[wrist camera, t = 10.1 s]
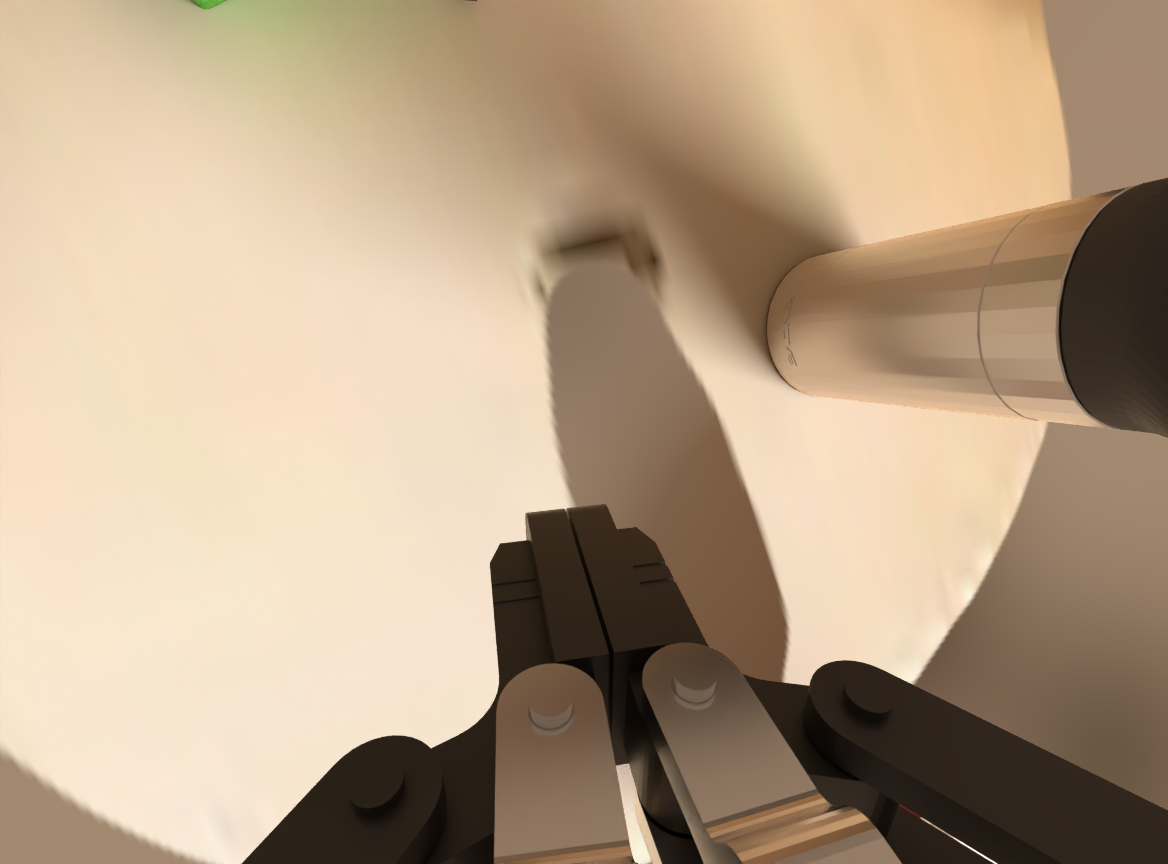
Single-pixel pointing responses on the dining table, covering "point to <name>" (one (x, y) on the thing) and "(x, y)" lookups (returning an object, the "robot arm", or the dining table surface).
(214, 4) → the fruit basket
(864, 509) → the dining table surface
